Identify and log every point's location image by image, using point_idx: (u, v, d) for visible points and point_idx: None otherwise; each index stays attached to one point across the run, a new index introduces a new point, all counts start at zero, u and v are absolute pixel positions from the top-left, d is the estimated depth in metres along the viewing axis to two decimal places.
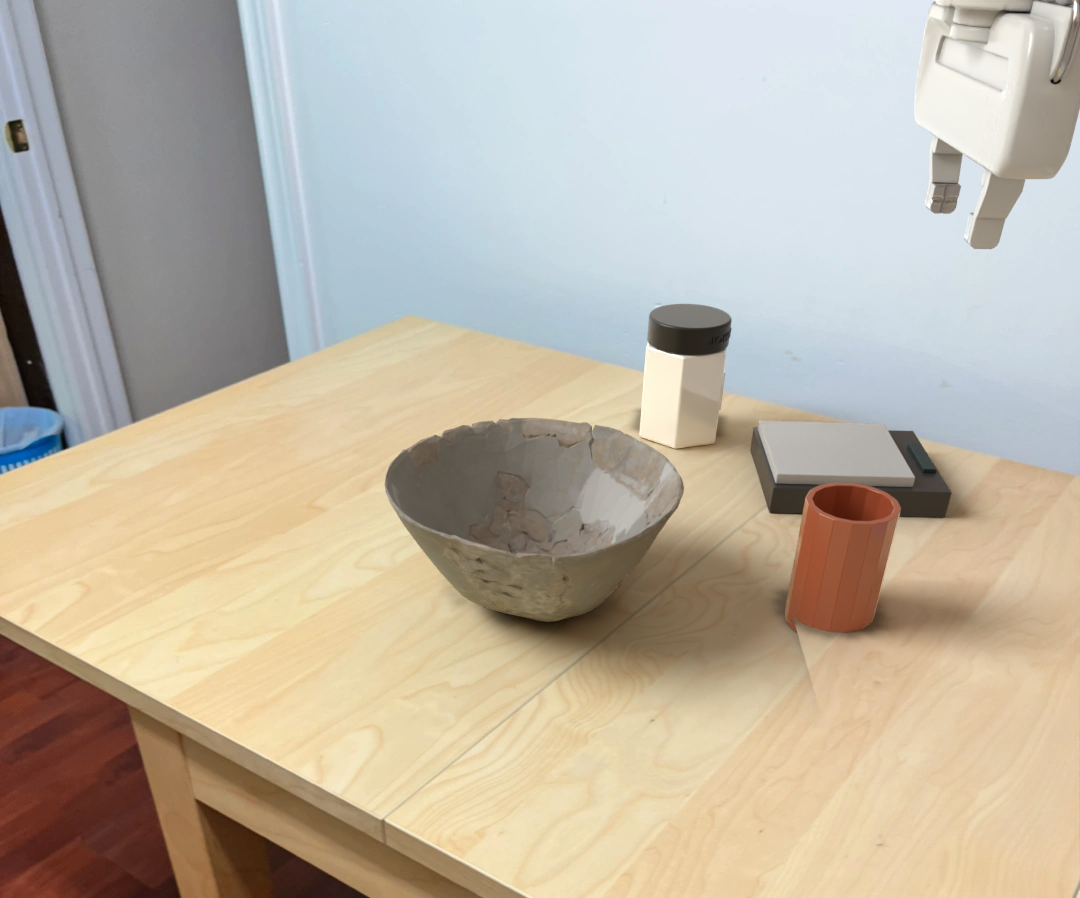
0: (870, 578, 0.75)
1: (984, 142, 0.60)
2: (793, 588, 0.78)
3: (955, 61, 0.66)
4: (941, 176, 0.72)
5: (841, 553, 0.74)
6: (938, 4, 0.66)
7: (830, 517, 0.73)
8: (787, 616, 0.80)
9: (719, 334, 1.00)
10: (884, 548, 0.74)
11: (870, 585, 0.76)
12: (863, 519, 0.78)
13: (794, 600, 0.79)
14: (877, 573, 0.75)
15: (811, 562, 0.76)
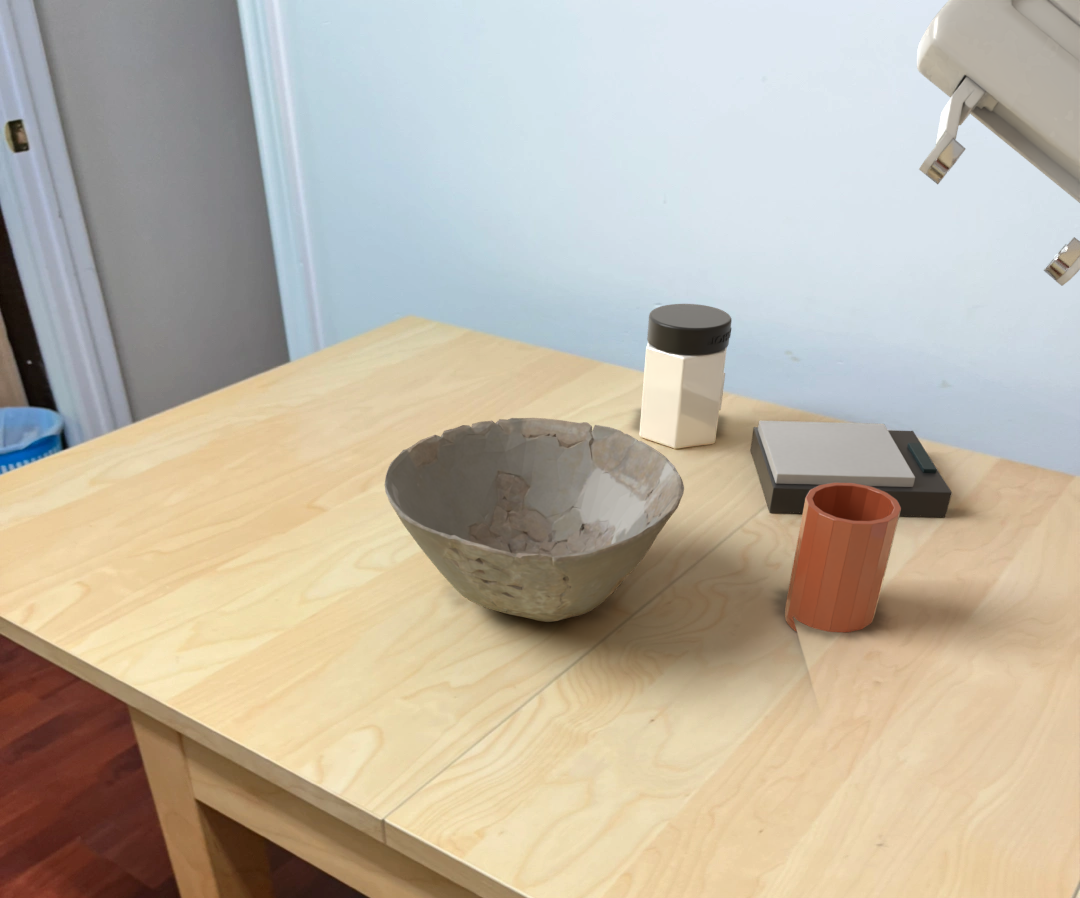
0: (870, 578, 0.75)
1: None
2: (793, 588, 0.78)
3: None
4: None
5: (841, 553, 0.74)
6: None
7: (830, 517, 0.73)
8: (787, 616, 0.80)
9: (719, 334, 1.00)
10: (884, 548, 0.74)
11: (870, 585, 0.76)
12: (863, 519, 0.78)
13: (794, 600, 0.79)
14: (877, 573, 0.75)
15: (811, 562, 0.76)
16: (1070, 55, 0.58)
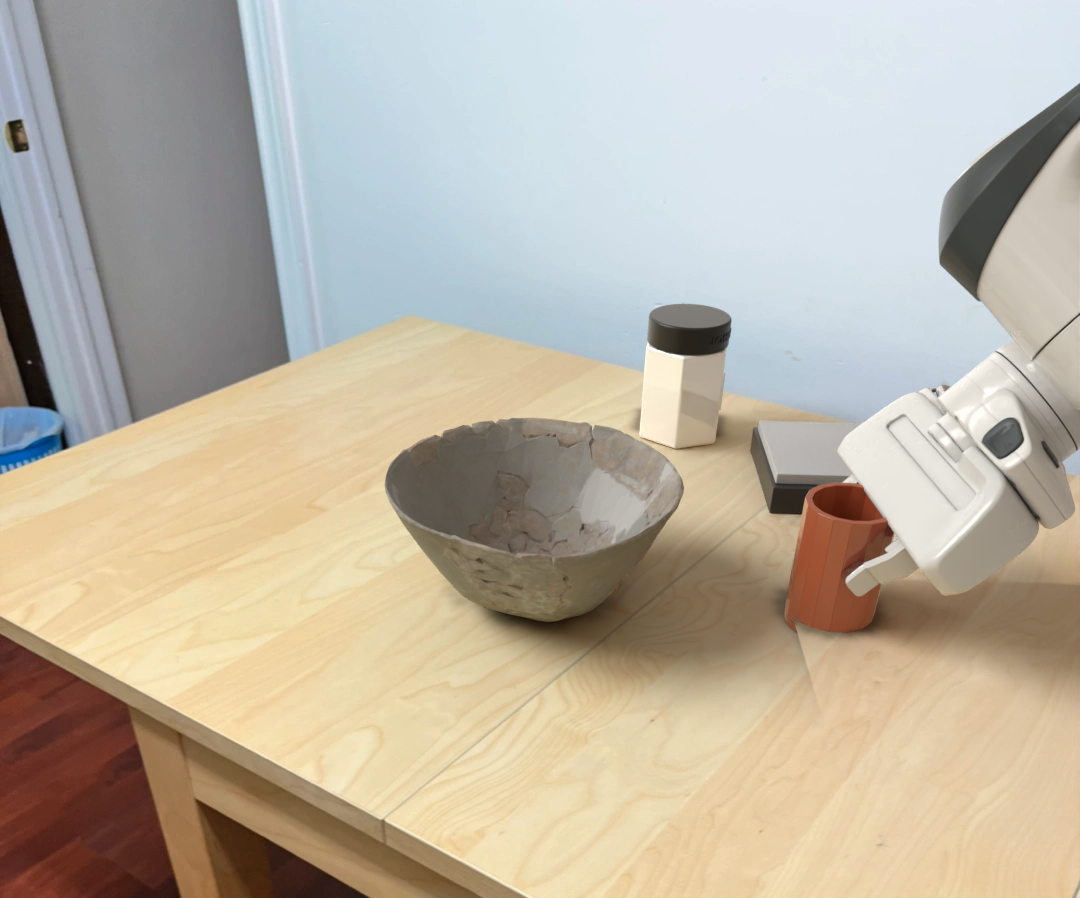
0: None
1: None
2: (793, 588, 0.78)
3: None
4: None
5: (841, 553, 0.74)
6: None
7: (829, 517, 0.73)
8: (787, 616, 0.80)
9: (719, 334, 1.00)
10: (884, 548, 0.74)
11: None
12: (863, 519, 0.78)
13: (794, 600, 0.79)
14: None
15: (811, 562, 0.76)
16: (903, 450, 0.75)
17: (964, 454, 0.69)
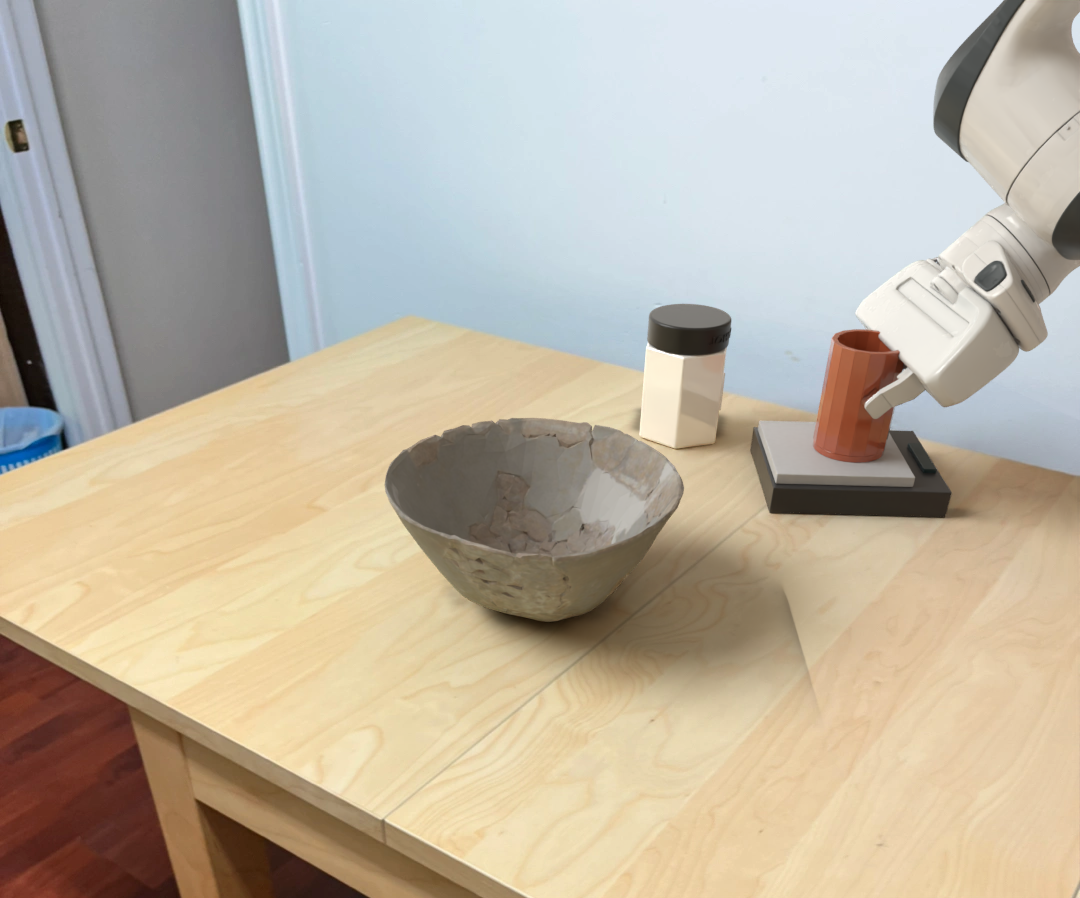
0: None
1: None
2: (820, 417, 0.96)
3: None
4: None
5: (861, 380, 0.91)
6: None
7: (852, 349, 0.90)
8: (815, 444, 0.98)
9: (719, 334, 1.00)
10: (896, 377, 0.92)
11: None
12: None
13: (821, 428, 0.96)
14: None
15: (836, 391, 0.93)
16: (910, 302, 0.93)
17: (960, 294, 0.86)
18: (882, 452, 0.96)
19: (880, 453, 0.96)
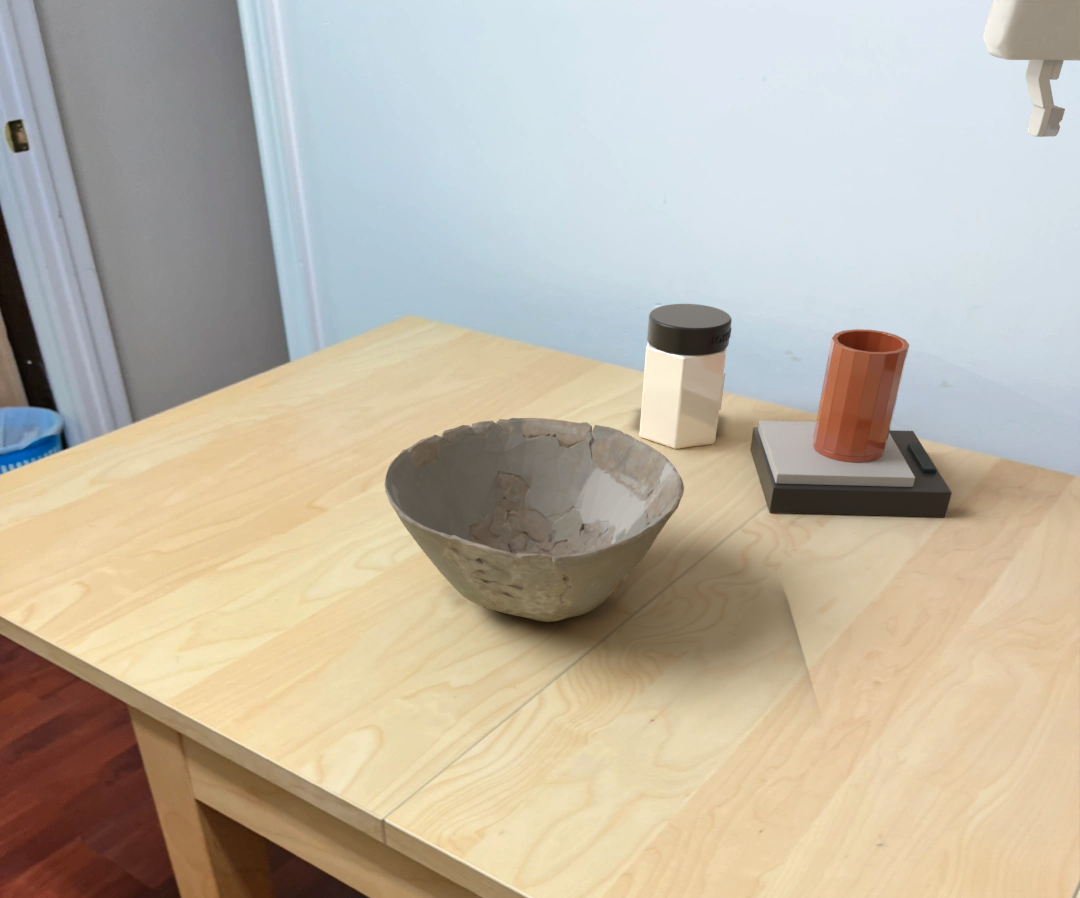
0: (884, 404, 0.92)
1: None
2: (820, 418, 0.96)
3: None
4: None
5: (861, 381, 0.91)
6: None
7: (852, 349, 0.90)
8: (815, 444, 0.98)
9: (719, 334, 1.00)
10: (896, 377, 0.92)
11: (884, 410, 0.93)
12: None
13: (821, 428, 0.96)
14: (889, 400, 0.93)
15: (836, 391, 0.93)
16: None
17: None
18: (882, 452, 0.96)
19: (880, 453, 0.96)
